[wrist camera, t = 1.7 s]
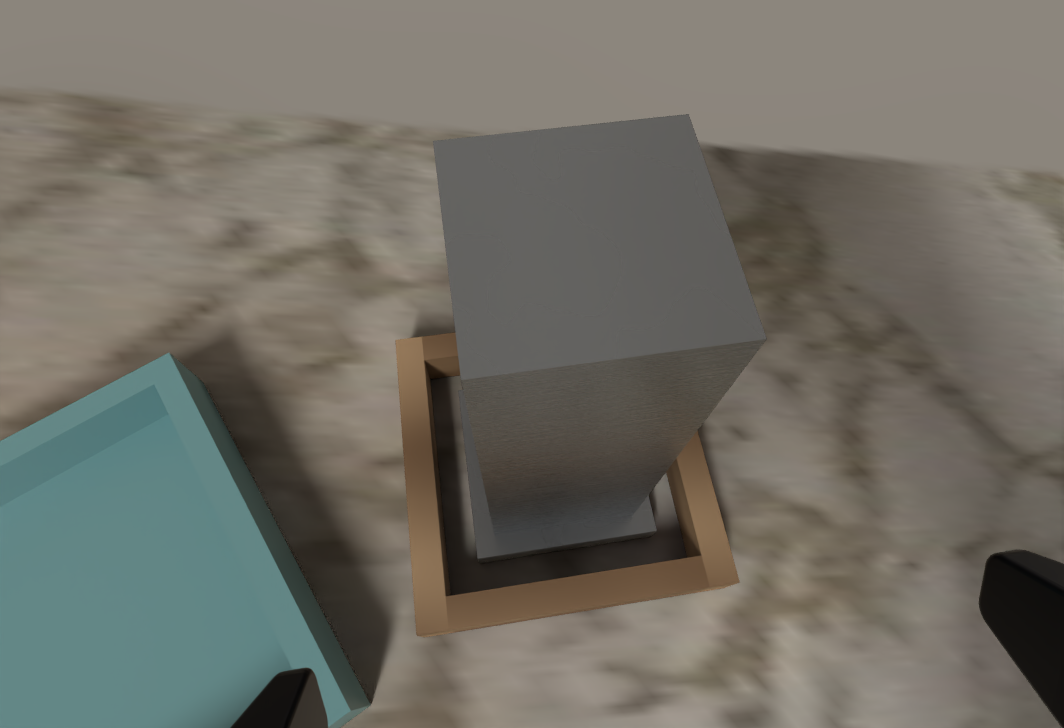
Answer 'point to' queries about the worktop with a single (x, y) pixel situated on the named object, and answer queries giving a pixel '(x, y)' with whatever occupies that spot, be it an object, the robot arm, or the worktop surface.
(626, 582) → the socket
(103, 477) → the parts tray
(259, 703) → the robot arm
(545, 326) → the plate
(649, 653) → the worktop surface
